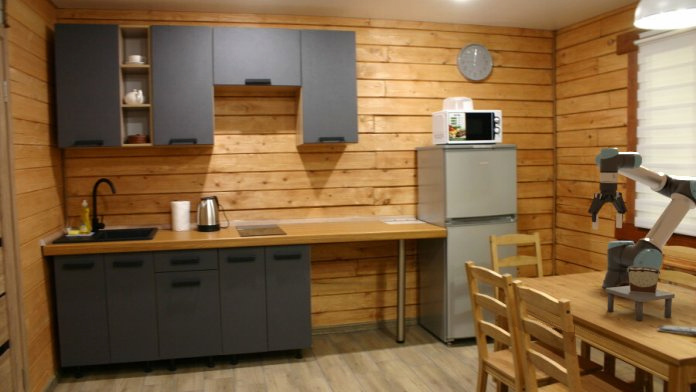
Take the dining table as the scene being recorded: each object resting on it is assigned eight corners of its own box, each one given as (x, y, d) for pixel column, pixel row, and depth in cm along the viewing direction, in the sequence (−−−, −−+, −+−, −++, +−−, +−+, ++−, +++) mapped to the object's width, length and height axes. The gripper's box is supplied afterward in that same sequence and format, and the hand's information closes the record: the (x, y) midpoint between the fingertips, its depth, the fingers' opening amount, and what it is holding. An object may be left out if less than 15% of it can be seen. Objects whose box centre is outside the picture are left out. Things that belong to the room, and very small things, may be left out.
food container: (658, 290, 241) (659, 266, 240) (659, 294, 235) (660, 269, 235) (625, 288, 246) (625, 264, 245) (626, 291, 240) (626, 267, 239)
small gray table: (638, 306, 253) (638, 284, 252) (673, 317, 236) (674, 294, 235) (604, 310, 247) (605, 288, 246) (639, 322, 230) (639, 298, 229)
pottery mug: (644, 300, 264) (639, 286, 262) (624, 309, 266) (618, 294, 263) (633, 288, 275) (627, 274, 273) (613, 296, 277) (608, 282, 275)
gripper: (592, 183, 257) (591, 230, 259) (636, 181, 266) (635, 228, 267) (580, 182, 265) (579, 228, 266) (623, 181, 273) (622, 226, 274)
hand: (607, 228), depth 267 cm, fingers open, 13 cm apart
